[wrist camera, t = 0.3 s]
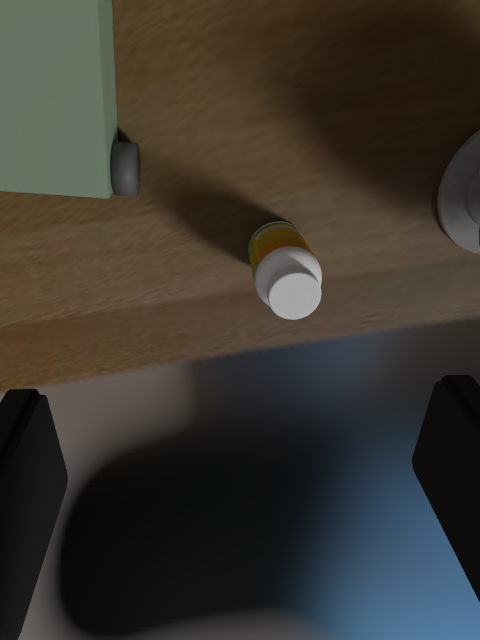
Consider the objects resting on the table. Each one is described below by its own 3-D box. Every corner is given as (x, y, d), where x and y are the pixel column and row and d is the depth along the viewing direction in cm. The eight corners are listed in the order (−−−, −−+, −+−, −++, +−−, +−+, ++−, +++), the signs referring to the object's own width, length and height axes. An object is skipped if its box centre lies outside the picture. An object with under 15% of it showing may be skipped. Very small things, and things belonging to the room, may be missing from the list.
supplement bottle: (238, 233, 40) (247, 280, 32) (294, 210, 40) (318, 252, 31) (260, 282, 43) (273, 337, 35) (312, 261, 42) (339, 312, 34)
